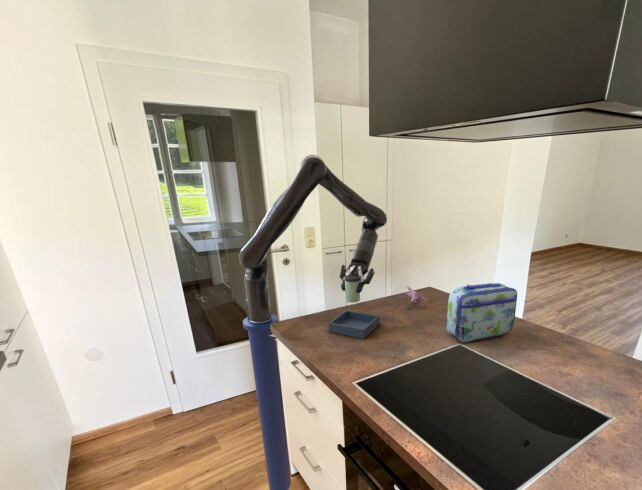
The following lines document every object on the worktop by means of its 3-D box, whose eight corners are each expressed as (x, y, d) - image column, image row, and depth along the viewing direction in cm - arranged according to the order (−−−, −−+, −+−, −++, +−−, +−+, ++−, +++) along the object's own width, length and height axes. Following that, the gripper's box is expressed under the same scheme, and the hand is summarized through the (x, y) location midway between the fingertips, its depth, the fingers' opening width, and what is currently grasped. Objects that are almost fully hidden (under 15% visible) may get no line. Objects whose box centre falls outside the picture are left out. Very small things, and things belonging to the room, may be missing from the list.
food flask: (342, 301, 140) (341, 277, 136) (349, 296, 145) (348, 273, 141) (356, 303, 138) (355, 279, 134) (362, 298, 143) (362, 275, 139)
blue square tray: (329, 331, 143) (328, 322, 141) (346, 318, 155) (346, 310, 154) (363, 338, 137) (364, 329, 136) (379, 324, 150) (379, 315, 148)
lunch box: (455, 346, 133) (462, 292, 124) (441, 334, 142) (446, 283, 134) (514, 337, 140) (524, 286, 132) (497, 326, 149) (505, 278, 141)
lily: (426, 314, 163) (433, 294, 163) (403, 305, 160) (410, 285, 160) (416, 312, 175) (423, 294, 175) (395, 304, 172) (401, 285, 172)
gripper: (344, 247, 143) (330, 284, 137) (377, 250, 137) (364, 289, 132) (350, 257, 149) (337, 293, 144) (382, 261, 144) (370, 298, 139)
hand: (350, 290), depth 138 cm, fingers closed on food flask, 6 cm apart
